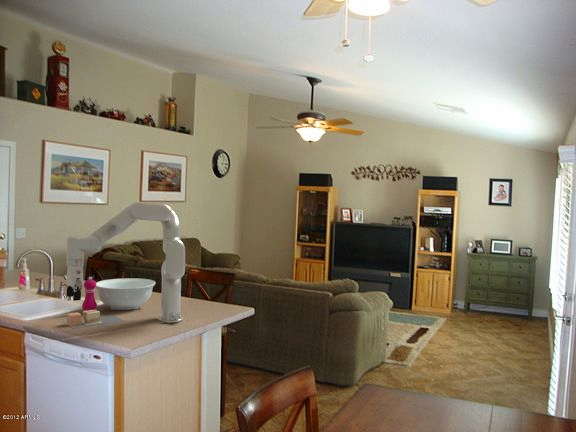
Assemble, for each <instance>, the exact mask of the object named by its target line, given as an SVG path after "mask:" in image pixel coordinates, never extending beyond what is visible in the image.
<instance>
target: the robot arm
mask: <svg viewBox="0 0 576 432" xmlns="http://www.w3.org/2000/svg"><path fill="white" fill-rule="evenodd" d="M138 221H150V222H151V221H152V222H160V223H161V225H162V251H163V252H164V254H165V260H164V261H163V263H162V265H161V268H160V269H161V298H160V299H161V303H160V305H161V306H160V308H161V309H160V315H159V317H157V320H159V321H161V322H164V323H166V324H167V323H169V324H170V323H171V324H172V323H178V322H182V321H184V317H183V315H181V301H182V300H181V298H182V296H181V295H182V294H181V292H182V291H181V290H182V277H184V275H185V272H186V246H185V244H184V242H183V241H182V240H181V228H180V227H181V224H180V220H179V217H178V216H177V215H176V213H175V211H174V210H173V209H172V208H171V207H170V205H167V204H164V203H152V202H151V203H150V202H142V201H134V202H133V203H131V204H130V205H128V206H126V207H125V208H124V209H123V210H121V211H120V212H118V213H117V214H116V215H115V216H113V217H112V218H111V219H109V220H108V221H107V222H106V223H104V224H103V225H102V226H100V227H99V228H97V229H96V230H95V231H93V232H92V233H91V234H90V235H87V237H83V236H80V235H79V236H78V235H77V236H76V235H72V236H68V237H67V238H66V239H67V240H66V242H67V243H66V260H65V263H66V264H65V265H66V267H67V270H66V279H65V280H66V292H65V293H66V295H65V297H66V298H69V297H70V298H71V297H72V298H73V301H74V302H75V301H81V299H82V289H83V287H84V261H85V253H86V252H87V253H97V252H99V251H101V249H102V246H103V245H104V244H106V243H107V242H108V241H109V240H111V239H112V238H115V237H116V236H118V235H120V234H123V233H124V232H125V231H127V230H129V228H131V227H132V226H133V225H134V224H136V223H137V222H138Z"/></svg>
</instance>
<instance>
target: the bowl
mask: <svg viewBox="0 0 576 432" xmlns="http://www.w3.org/2000/svg"><path fill="white" fill-rule="evenodd" d="M155 285H156V281H155V280H153V279H147V278H138V277H137V278H133V277H132V278H125V277H124V278H113V279H104V280H100V281H97V282H96V287H95V289H97V295H98V297H99V299H100V301H101V302H102V303H103V304H104V305H106V306H108V307H109V308H110V310H118V311H120V310H121V311H125V310H127V311H128V310H139V309H140V308H141V305H142V304H143V305H144V303H146V302H148V300H149V299H150V298H151V296H152V293H153V288H154V286H155Z"/></svg>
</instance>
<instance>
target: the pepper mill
mask: <svg viewBox="0 0 576 432" xmlns="http://www.w3.org/2000/svg"><path fill="white" fill-rule="evenodd" d="M96 283H97V282H96V280H93V277H92V276H89V277H88V278H87V280H85V281H83V287H84V288H85V289H84V293H85V298H84V300H83V302H82V304H81V309H82V310H83V311H89V310H97V307H98V303H97V301H96V299H95V292H96Z"/></svg>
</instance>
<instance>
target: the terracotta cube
mask: <svg viewBox="0 0 576 432" xmlns="http://www.w3.org/2000/svg"><path fill="white" fill-rule="evenodd" d="M82 318H83V313H80V312H70V313H66V322H67V325H69V326H77V325H81V320H82ZM67 325H66V326H67ZM69 326H68V327H69Z"/></svg>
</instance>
